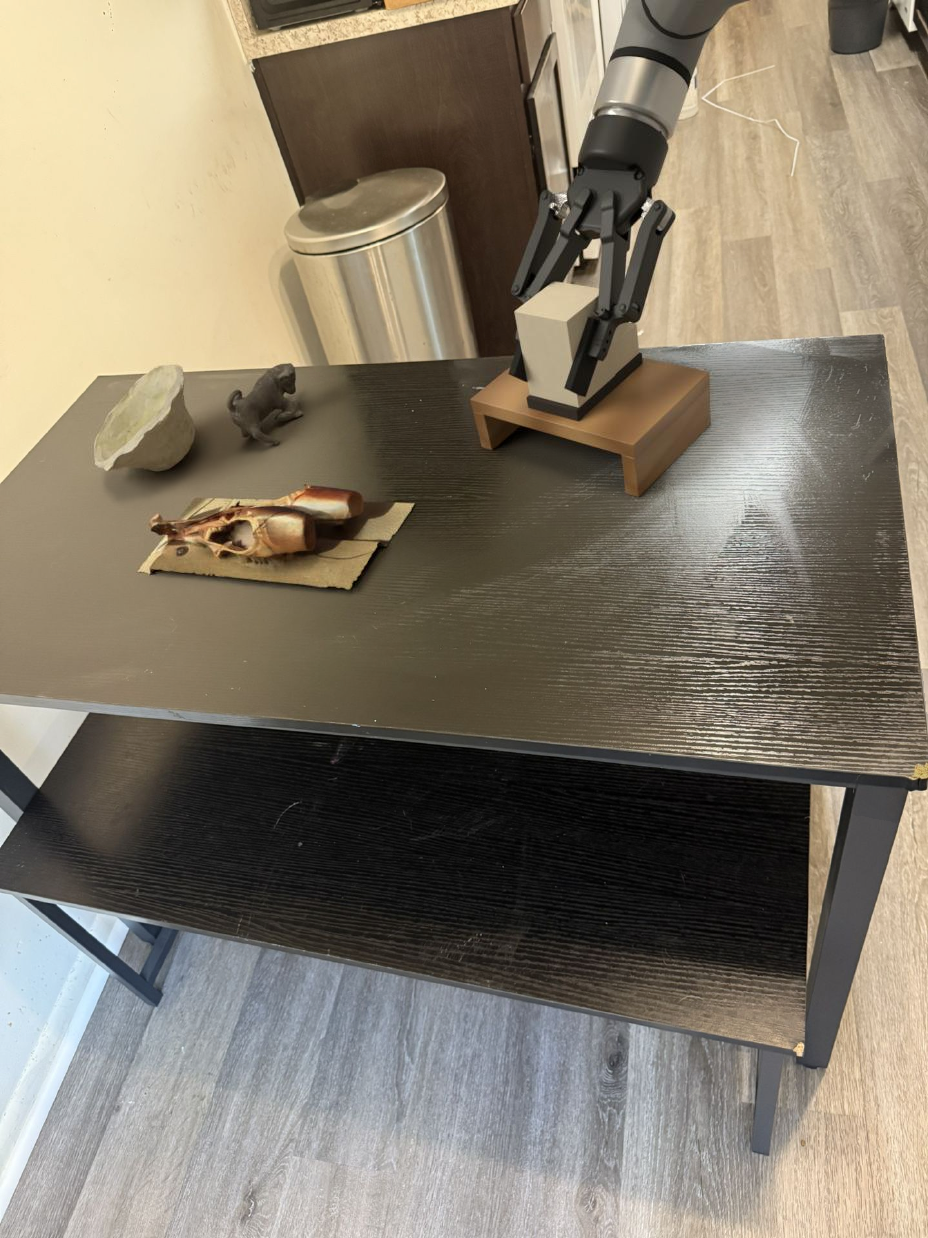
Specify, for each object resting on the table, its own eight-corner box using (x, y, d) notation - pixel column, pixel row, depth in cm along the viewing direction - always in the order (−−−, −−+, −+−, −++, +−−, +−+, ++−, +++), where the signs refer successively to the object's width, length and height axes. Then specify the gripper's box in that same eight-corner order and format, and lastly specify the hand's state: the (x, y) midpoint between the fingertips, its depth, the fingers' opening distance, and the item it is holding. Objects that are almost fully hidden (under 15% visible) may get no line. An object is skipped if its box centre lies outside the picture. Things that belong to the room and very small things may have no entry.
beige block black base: (578, 421, 82) (564, 324, 75) (527, 407, 86) (509, 313, 79) (643, 363, 87) (635, 266, 80) (592, 352, 90) (580, 258, 84)
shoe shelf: (711, 424, 87) (709, 371, 83) (638, 497, 82) (633, 444, 78) (554, 385, 99) (546, 337, 95) (481, 447, 93) (469, 399, 89)
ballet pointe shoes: (347, 546, 76) (97, 537, 86) (370, 598, 81) (131, 584, 91) (398, 449, 84) (165, 451, 94) (416, 501, 89) (192, 498, 99)
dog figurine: (269, 454, 102) (244, 400, 97) (232, 449, 105) (207, 396, 100) (324, 398, 109) (303, 344, 104) (289, 394, 111) (267, 342, 106)
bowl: (112, 448, 112) (71, 380, 105) (215, 414, 112) (181, 343, 105) (105, 513, 101) (59, 441, 94) (220, 475, 101) (182, 401, 94)
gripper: (742, 154, 75) (650, 416, 79) (567, 146, 86) (494, 376, 90) (709, 110, 69) (610, 396, 73) (525, 107, 80) (449, 356, 84)
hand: (546, 384), depth 82 cm, fingers closed on beige block black base, 6 cm apart
